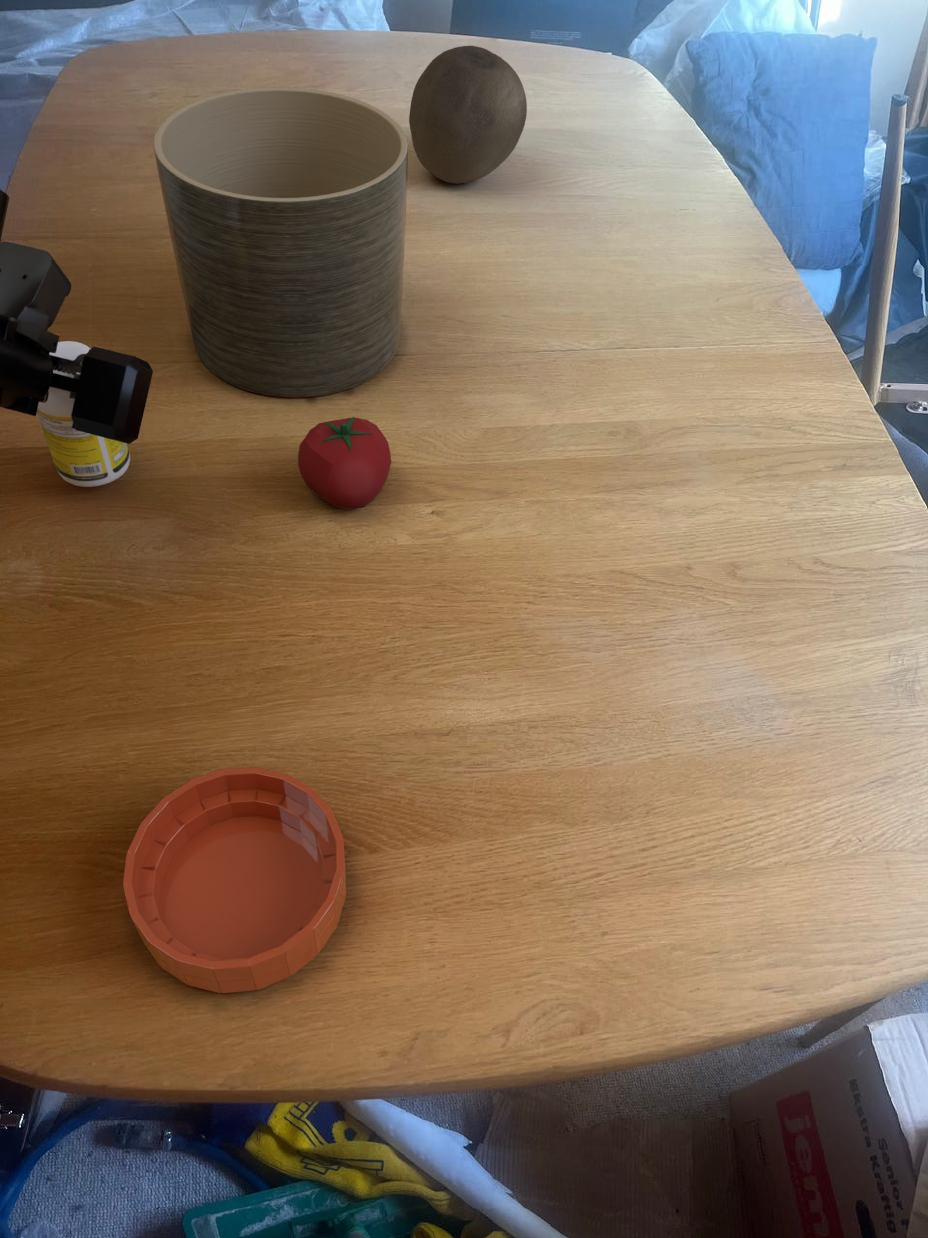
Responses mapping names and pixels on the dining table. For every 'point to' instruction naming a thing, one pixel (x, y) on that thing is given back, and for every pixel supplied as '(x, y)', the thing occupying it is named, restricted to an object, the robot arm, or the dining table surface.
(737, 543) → the dining table surface
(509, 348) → the dining table surface
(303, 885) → the bowl
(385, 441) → the tomato
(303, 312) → the planter
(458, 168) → the egg shaped brown fruit
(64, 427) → the pill bottle
